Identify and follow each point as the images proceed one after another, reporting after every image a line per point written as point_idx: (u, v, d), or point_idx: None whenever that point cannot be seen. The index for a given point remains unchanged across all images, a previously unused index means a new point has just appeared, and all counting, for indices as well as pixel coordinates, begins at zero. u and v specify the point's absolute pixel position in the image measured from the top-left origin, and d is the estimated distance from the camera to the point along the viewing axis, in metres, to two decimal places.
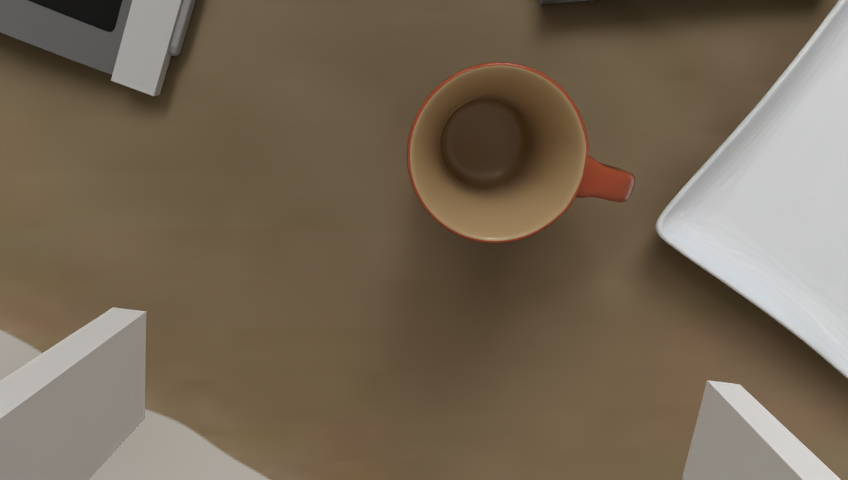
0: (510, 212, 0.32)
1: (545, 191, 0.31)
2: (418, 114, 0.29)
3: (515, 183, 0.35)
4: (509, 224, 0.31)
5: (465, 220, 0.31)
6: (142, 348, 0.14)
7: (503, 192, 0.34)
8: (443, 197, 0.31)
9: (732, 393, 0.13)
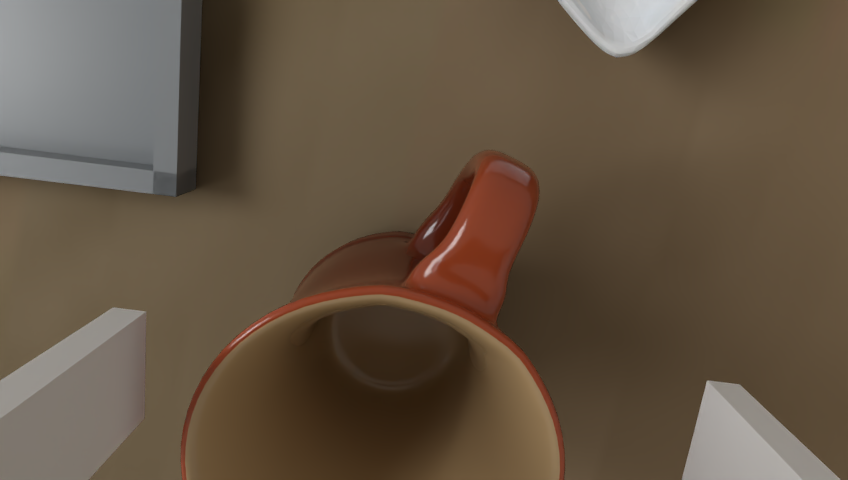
0: (507, 417, 0.15)
1: (478, 348, 0.15)
2: None
3: None
4: (528, 449, 0.14)
5: None
6: (142, 348, 0.14)
7: (475, 362, 0.18)
8: None
9: (732, 393, 0.13)
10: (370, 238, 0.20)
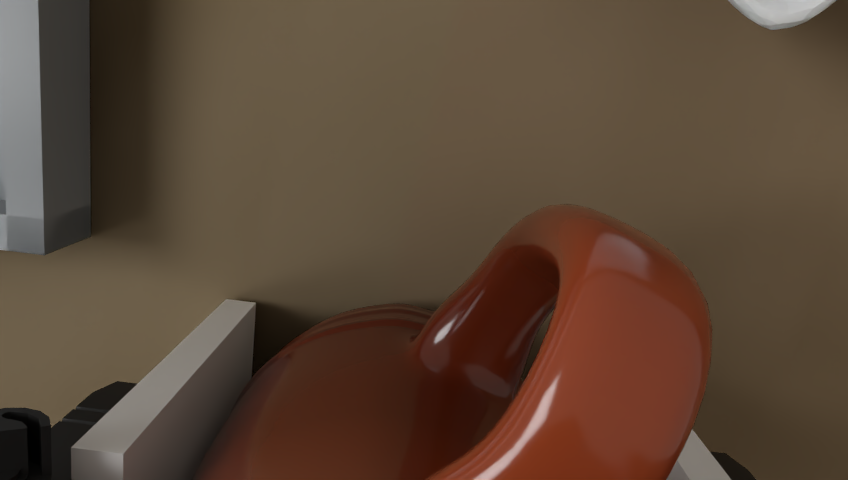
0: None
1: None
2: None
3: None
4: None
5: None
6: (252, 336, 0.15)
7: None
8: None
9: None
10: (351, 325, 0.12)
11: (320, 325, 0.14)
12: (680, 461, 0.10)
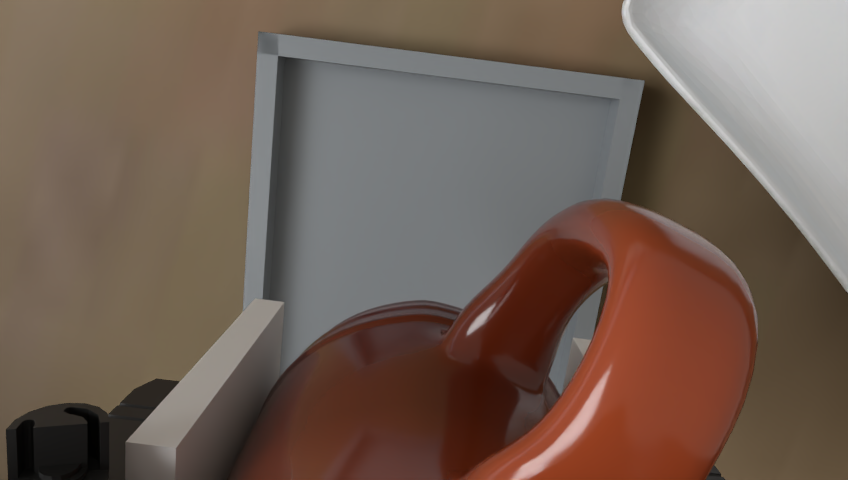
0: None
1: None
2: None
3: None
4: None
5: None
6: (280, 335, 0.15)
7: None
8: None
9: None
10: (380, 321, 0.13)
11: (348, 321, 0.14)
12: None
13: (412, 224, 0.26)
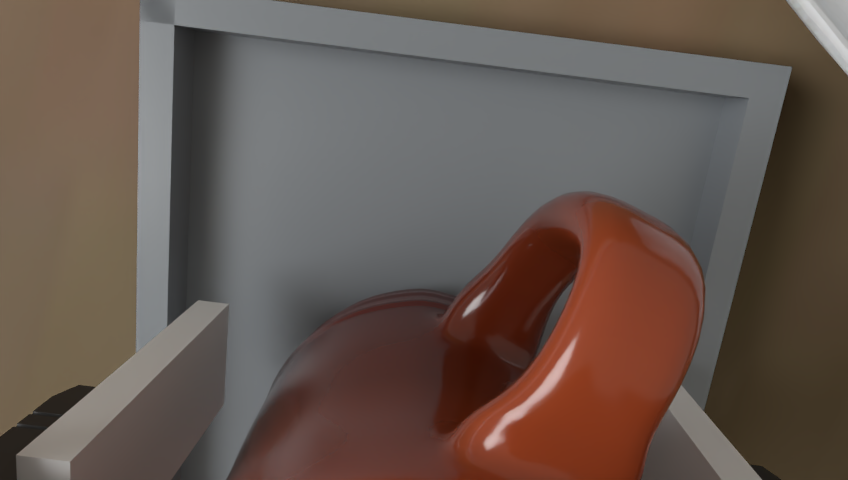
0: None
1: None
2: None
3: None
4: None
5: None
6: (225, 338, 0.15)
7: None
8: None
9: None
10: (382, 306, 0.14)
11: (352, 307, 0.15)
12: (722, 476, 0.10)
13: None
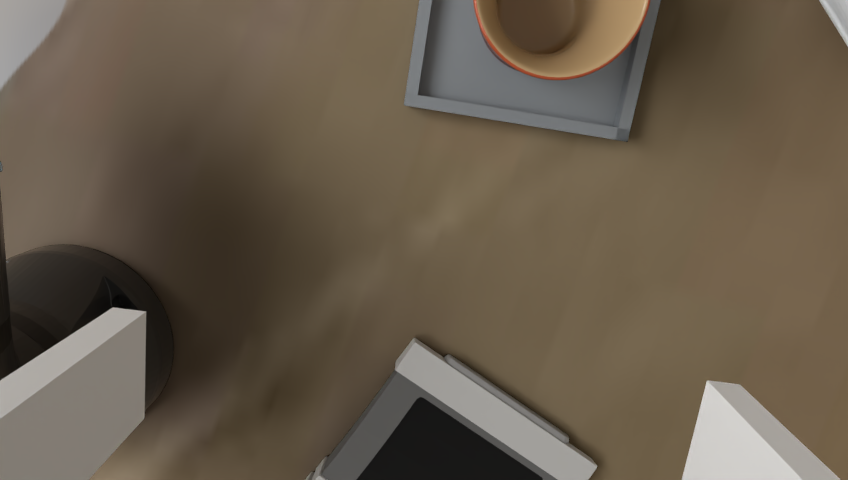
0: None
1: None
2: (502, 57, 0.30)
3: None
4: None
5: (615, 36, 0.30)
6: (142, 348, 0.14)
7: None
8: (585, 54, 0.31)
9: (732, 393, 0.13)
10: None
11: None
12: None
13: None
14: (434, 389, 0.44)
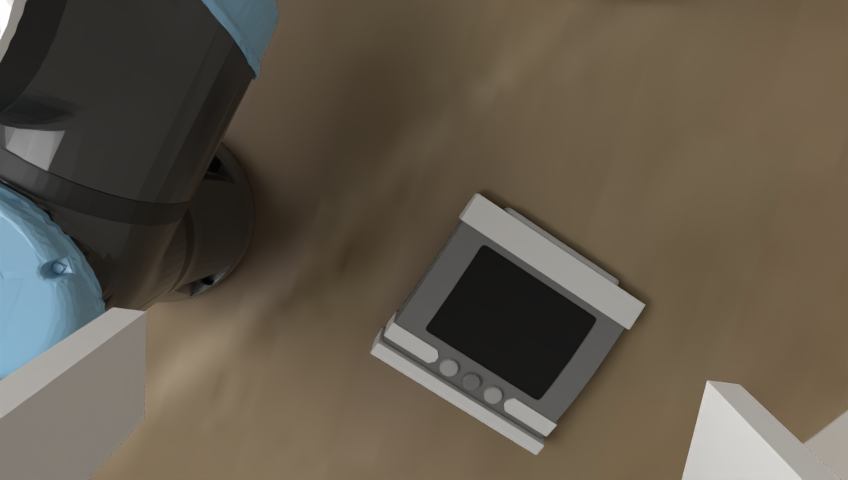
0: None
1: None
2: None
3: None
4: None
5: None
6: (142, 348, 0.14)
7: None
8: None
9: (732, 393, 0.13)
10: None
11: None
12: None
13: None
14: (497, 236, 0.49)
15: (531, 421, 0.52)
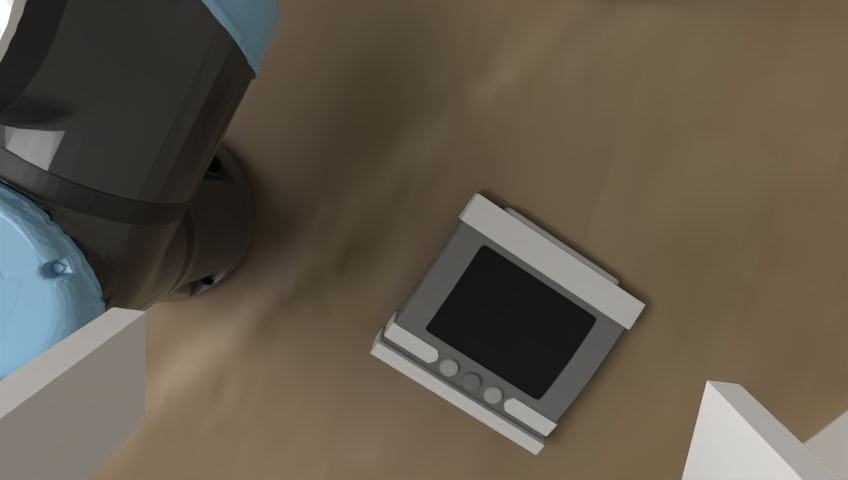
0: None
1: None
2: None
3: None
4: None
5: None
6: (142, 349, 0.14)
7: None
8: None
9: (732, 393, 0.13)
10: None
11: None
12: None
13: None
14: (496, 236, 0.49)
15: (531, 421, 0.52)
